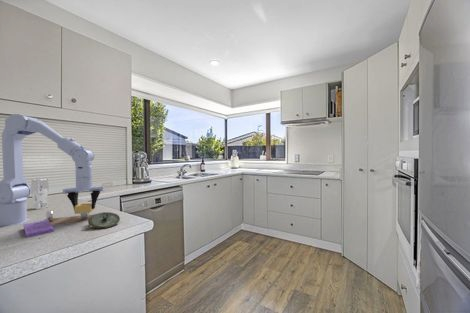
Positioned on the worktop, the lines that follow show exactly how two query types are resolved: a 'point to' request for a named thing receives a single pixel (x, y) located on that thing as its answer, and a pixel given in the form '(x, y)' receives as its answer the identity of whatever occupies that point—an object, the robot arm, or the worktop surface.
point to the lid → (103, 220)
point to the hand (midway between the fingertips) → (84, 209)
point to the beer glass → (39, 193)
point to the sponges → (38, 228)
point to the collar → (83, 208)
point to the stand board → (67, 218)
